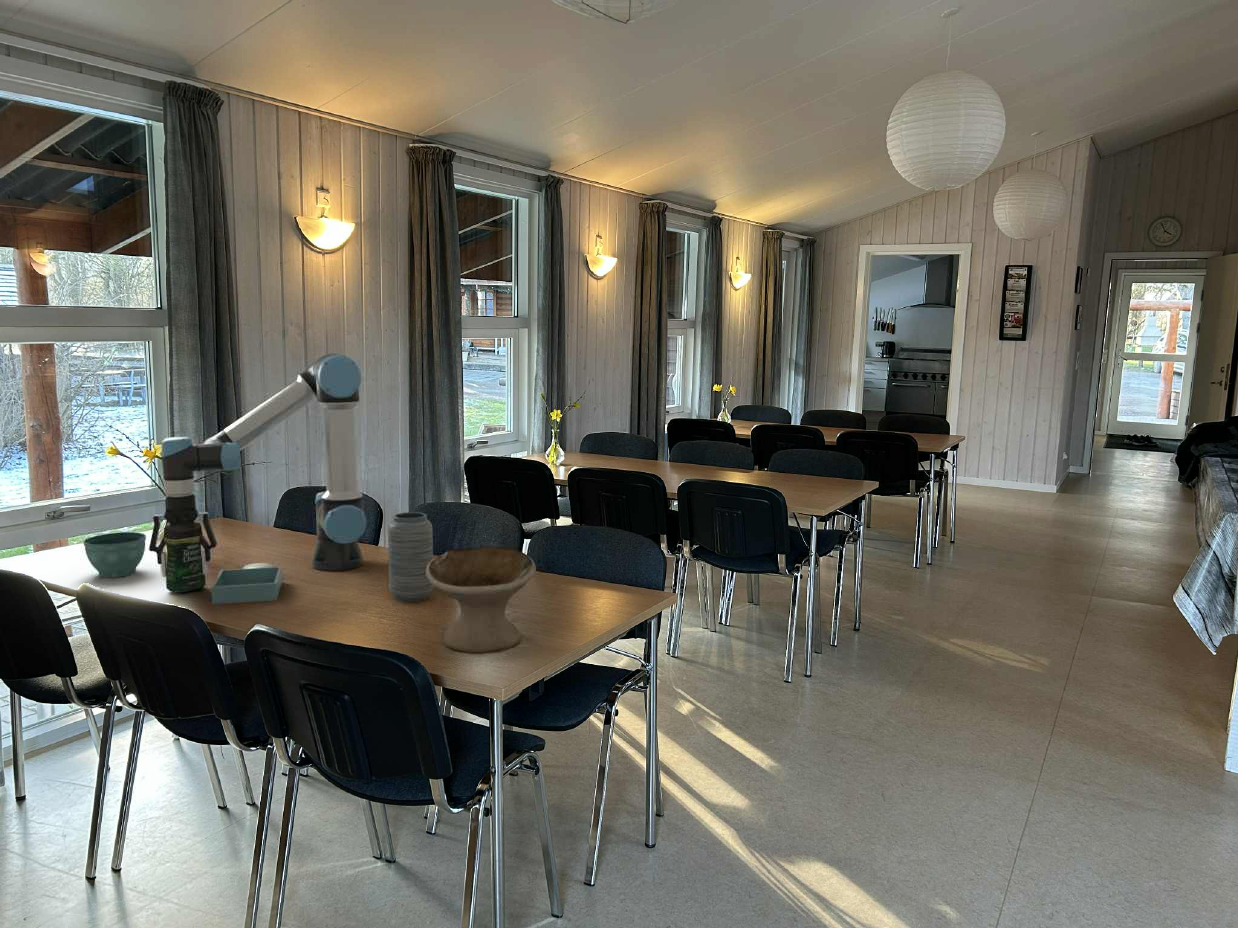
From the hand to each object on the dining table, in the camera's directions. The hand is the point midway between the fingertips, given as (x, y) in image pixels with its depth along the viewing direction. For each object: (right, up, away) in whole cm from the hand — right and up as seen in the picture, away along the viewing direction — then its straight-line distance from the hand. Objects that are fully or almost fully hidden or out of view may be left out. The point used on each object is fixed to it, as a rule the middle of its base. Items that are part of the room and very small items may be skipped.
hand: (185, 574), depth 257 cm
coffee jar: (0, -4, +1) cm, 4 cm away
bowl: (+87, -12, -37) cm, 95 cm away
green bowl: (-28, -2, +17) cm, 32 cm away
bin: (+18, -5, -1) cm, 18 cm away
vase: (+63, -6, -3) cm, 64 cm away
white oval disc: (+14, -3, +15) cm, 21 cm away
